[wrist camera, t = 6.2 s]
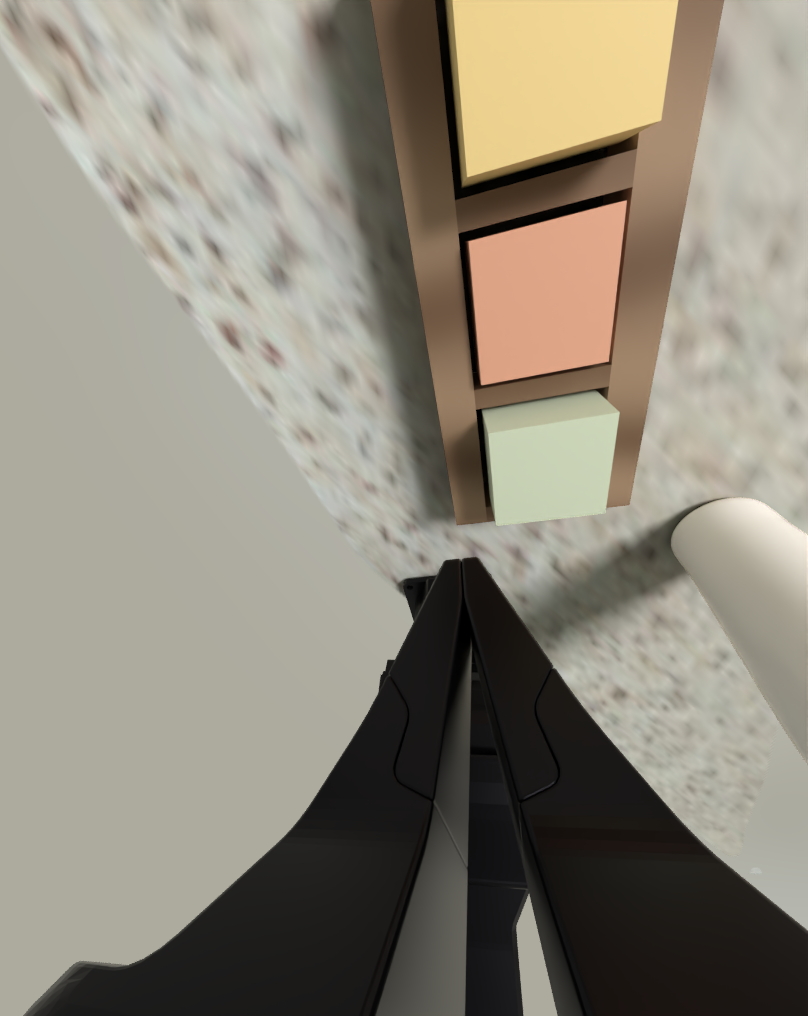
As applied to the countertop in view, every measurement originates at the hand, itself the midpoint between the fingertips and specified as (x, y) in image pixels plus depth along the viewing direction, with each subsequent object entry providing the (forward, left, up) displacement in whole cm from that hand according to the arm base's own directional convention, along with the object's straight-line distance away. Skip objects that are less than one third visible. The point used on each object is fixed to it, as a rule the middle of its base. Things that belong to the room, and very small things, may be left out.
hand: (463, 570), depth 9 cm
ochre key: (+10, -4, -10) cm, 15 cm away
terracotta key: (+4, -4, -12) cm, 13 cm away
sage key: (-3, -4, -10) cm, 11 cm away
